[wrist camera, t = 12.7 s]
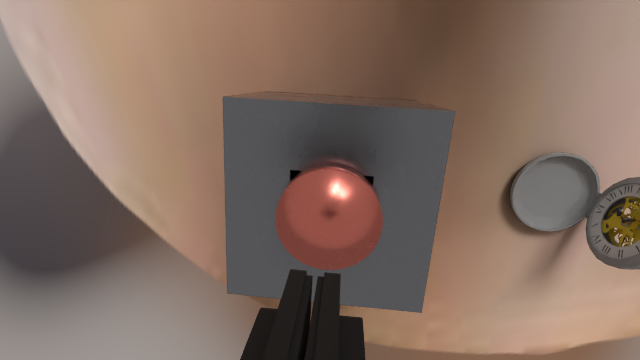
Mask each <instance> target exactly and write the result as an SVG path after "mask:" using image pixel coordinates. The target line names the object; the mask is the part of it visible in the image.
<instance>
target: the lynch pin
mask: <svg viewBox="0 0 640 360" xmlns="http://www.w3.org/2000/svg"><path fill="white" fill-rule="evenodd" d="M275 223H276V229H277V233H278V236H279V238H280V240H281V242H282V244H283V245H284V247H285V248H286V250H287V251H288V252H289V253H290V254H291V255H292V256H293V257H294V258H296V259H297V260H299V261H300V262H302V263H304V264H306V265H308V266H310V267H313V268H317V269H323V270H339V269H344V268H347V267H350V266H353V265H355V264H357V263H359V262H360V261H362V260H363V259H365V258H366V257H367V256H368V255H369V254H370V253H371V252H372V251H373V249H374V248H375V247H376V245H377V243H378V241H379V239H380V236H381V233H382V228H383V216H382V210H381V206H380V202H379V199H378V195H377V193H376V191H375V189H374V187H373V185H372V184H371V183H370V181H369V180H368V179H367V178H366V177H365V176H364V175H363V174H361V173H360V172H359V171H357V170H355V169H353V168H351V167H349V166H346V165H342V164H337V163H321V164H317V165H313V166H310V167H308V168H306V169H304V170H302V171H301V172H300V173H298V174H297V175H296V176H295V177H294V178H293V179H292V180H291V181H290V183H289V184H288V186H287V187H286V189H285V191H284V192H283V194H282V196H281V198H280V200H279V202H278V205H277V209H276V215H275Z"/></svg>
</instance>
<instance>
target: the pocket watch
mask: <svg viewBox="0 0 640 360" xmlns="http://www.w3.org/2000/svg"><path fill="white" fill-rule="evenodd" d="M599 191H600V184H599V177H598V174H597V172H596V171H595V169H594V167H593V166H592V165H591V164H590V163H589V162H588V161H587V160H585V159H583V158H581V157H579V156H577V155H574V154H570V153H550V154H547V155H543V156H540V157H538V158H536V159H534V160H532V161H531V162H529V163H528V164H527V165H526V166H524V167H523V168H522V169H521V171H520V172H519V173H518V174H517V176H516V177H515V179H514V181H513V184H512V187H511V191H510V201H511V206H512V209H513V211H514V213H515V215H516V216H517V217H518V218H519V219H520V220H521V221H522V222H523V223H525V224H526V225H528V226H529V227H531V228H534V229H537V230H541V231H558V230H563V229H566V228H568V227H571V226H573V225H575V224H577V223H578V222H579V221H581V220H582V219H583V218H585V217H587V224H586V237H587V242H588V245H589V247H590V249H591V251H592V252H593V254H594V255H595V256H596V258H597V259H599V260H600V261H602V262H603V263H605V264H607V265H610V266H613V267H616V268H619V269H640V205H639V203H640V177H635V178H627V179H625V180H622V181H620V182H618V183H615V184H613V185H612V186H611V187H609V188H608V189H607V190H605V191H604V192H603V193H602V194H601V193H599ZM636 201H637V202H636ZM634 202H636V203H635V204H634ZM631 203H632V204H631ZM636 205H637V206H636ZM627 207H628V208H629V209H630V210H631V214H627V215H624V211H625V209H626V208H627ZM630 207H632V208H630ZM623 208H624V209H623ZM634 208H635V209H634ZM622 209H623V212H622V211H621V210H622ZM627 216H631V218H628V217H627ZM615 227H616V228H617V230H615V229H614V228H615ZM629 228H631V229H629ZM614 231H616V232H614ZM631 231H632V232H631ZM618 233H619V234H623V235H622V236H621V237H619V235H618V237H619V244H618V243H617V241H616V240H615V236H616V235H617V234H618ZM626 237H628V241H627V238H626ZM632 237H633V238H634V240H633V242H632V245H631V244H630V242H631V241H630V240H631V238H632ZM620 238H621V239H620ZM629 238H630V239H629ZM624 240H625V241H626V242H624ZM623 243H628V244H625V245H624V247H623V246H622V244H623Z"/></svg>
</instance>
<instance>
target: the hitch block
mask: <svg viewBox="0 0 640 360" xmlns="http://www.w3.org/2000/svg"><path fill="white" fill-rule="evenodd" d="M454 115H455V111H452V110H448V109H444V108H441V107H437V106H433V105H430V104H426V103H423V102H419V101H414V100H398V99H382V98H365V97H349V96H333V95H317V94H301V93H285V92H269V91H267V92H259V93H250V94H241V95H233V96H224V97H223V128H224V171H225V214H226V257H227V293H228V294H238V295H248V296H258V297H268V298H278V299H281V297H282V294H283V291H284V288H285V284H286V281H287V278H288V275H289V271H290V269H295V270H306V271H307V275H311V276H313V281H312V298H311V302H314V297H315V290H316V284H317V277H318V276H322V277H324V273H325V272H327V273H338V274H341V282H340V305H349V306H359V307H369V308H379V309H389V310H399V311H409V312H419V313H422V307H423V301H424V295H425V289H426V283H427V277H428V271H429V265H430V259H431V253H432V247H433V241H434V235H435V229H436V223H437V217H438V211H439V205H440V199H441V193H442V187H443V181H444V175H445V169H446V163H447V157H448V151H449V145H450V139H451V133H452V127H453V121H454ZM321 163H337V164H342V165H346V166H349V167H351V168H353V169H355V170H357V171H359V172H360V173H361V174H363V175H364V176H365V177H366V178H367V179H368V180H369V181H370V183H371V184H372V185H373V187H374V189H375V191H376V193H377V195H378V199H379V202H380V206H381V210H382V216H383V228H382V233H381V236H380V239H379V241H378V243H377V245H376V247H375V248H374V249H373V251H372V252H371V253H370V254H369V255H368V256H367V257H366V258H365V259H363V260H362V261H360V262H359V263H357V264H355V265H353V266H350V267H347V268H344V269H339V270H323V269H317V268H313V267H310V266H308V265H306V264H304V263H302V262H300V261H299V260H297V259H296V258H294V257H293V256H292V255H291V254H290V253H289V252H288V251H287V250H286V248H285V247H284V245H283V244H282V242H281V240H280V238H279V236H278V233H277V229H276V223H275V215H276V209H277V205H278V202H279V200H280V198H281V196H282V194H283V192H284V191H285V189H286V187H287V186H288V184H289V183H290V181H291V180H292V179H293V178H294V177H295V176H296V175H297V174H298V173H300V172H301V171H302V170H304V169H306V168H308V167H310V166H313V165H317V164H321Z"/></svg>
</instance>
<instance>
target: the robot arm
mask: <svg viewBox="0 0 640 360" xmlns="http://www.w3.org/2000/svg"><path fill="white" fill-rule="evenodd" d="M312 281H313V276H311V275H307V271H306V270H295V269H290V271H289V275H288V278H287V281H286V284H285V288H284V291H283V294H282V297H281V301H280V304H279V307H278V309H270V308H261V309H260V310H259V313H258V315H257V318H256V320H255V323H254V325H253V328H252V331H251V333H250V336H249V338H248V341H247V343H246V346H245V349H244V351H243V354H242V356H241V359H240V360H365V348H364V332H363V319H362V318H360V317H350V316H340V315H339V310H340V282H341V274H338V273H327V272H325V273H324V277H322V276H318V277H317V284H316V290H315V297H314V303H313V310H312V316H311V298H312ZM310 316H311V322H310Z"/></svg>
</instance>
